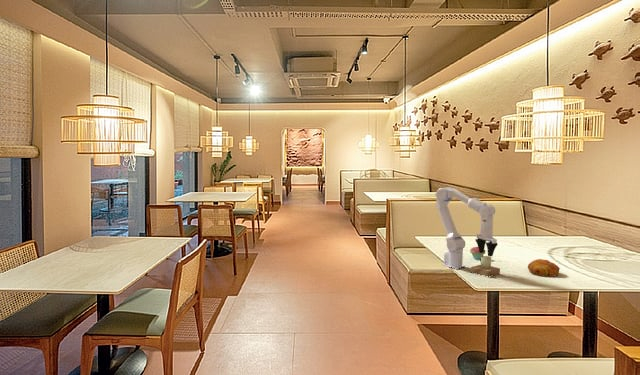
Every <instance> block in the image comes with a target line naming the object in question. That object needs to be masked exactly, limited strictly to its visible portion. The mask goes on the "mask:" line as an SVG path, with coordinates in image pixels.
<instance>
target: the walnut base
mask: <svg viewBox="0 0 640 375" xmlns="http://www.w3.org/2000/svg"><path fill="white" fill-rule="evenodd" d="M471 272H472V274H474V273H477V274H476V275H478V274H480V275H479V276H482V275H485V276H484V277H486V276H488V277H487V278H490V277H489V276H491V277H493V276H492V275H494V276H497V274H498V275H500V274H501V268H500V267H497V266H492V265H491V268H490V269H484V268H481V264H478V265H474V266H471V269H470V273H471Z"/></svg>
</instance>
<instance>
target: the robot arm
mask: <svg viewBox="0 0 640 375" xmlns="http://www.w3.org/2000/svg"><path fill="white" fill-rule="evenodd" d="M435 197H436V204H435V205H436V207H437V211H438V213H439V216H440V219H441V222H442V225H443V227H444V230H445V232H446V238H445V241H446V248H447V249H445V250H444V254H443V264H442V266H443V267H448V268H451V267H452V268H451V269H454V268H455V270H459V268H460V269H462V268H461V267H464V268H466V267H465V266H466V265H463V263H464V261H463V259H464V258H463V257H464V256H463V255H464V254H463V252H464V248H465V247H466V241H465V239H464V238H463V237H462V235H461V234H460V233H459V232H458V231H457V228H456V225H455V222H454V220H453V216H452V215H451V212H450V209H449V206H448V205H449V203H450V202H451V200H452V199H456V200H459V201H460V202H463V203H464V204H467V206H468V208H470V209H471V210H473V211H475V212H476V213H478V214H479V216H480V234H479V233H477V234H476V239H475V242H476V244H477V247H478V248H479V253H484V250H485V246H486V249H487V250H486V251H487V256H489V257H493V255H494V252H495V249H496V248H497V247H498V243H497V240H498V239H496V238H494V237H493V232H494V230H493V229H494V228H493V227H494V215H495V214H496V208H495V206H493V205H492V204H488V203H487V202H483V201H481V200H479V198H478V197H469V196H467V195H466V194H464V193H462V192H461V191H459V190H458V189H456V188H453V187H451V186H448V187H440V188H438V189H437V190H436V193H435ZM462 265H463V266H462ZM450 266H451V267H450Z"/></svg>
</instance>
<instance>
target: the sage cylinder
mask: <svg viewBox="0 0 640 375" xmlns="http://www.w3.org/2000/svg"><path fill="white" fill-rule="evenodd" d="M480 265H481V268H484V269H490V268H491V266H492V256H488V255H483V256H481V260H480Z"/></svg>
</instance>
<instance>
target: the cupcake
mask: <svg viewBox="0 0 640 375" xmlns="http://www.w3.org/2000/svg"><path fill="white" fill-rule="evenodd" d="M469 252H470V254H471V255H472V258H473V259H474V258H475V259H474V260H477V259H481V256H485V254H486V249H484V253H479V248H478V246H473V247H471V248H470V250H469Z"/></svg>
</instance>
